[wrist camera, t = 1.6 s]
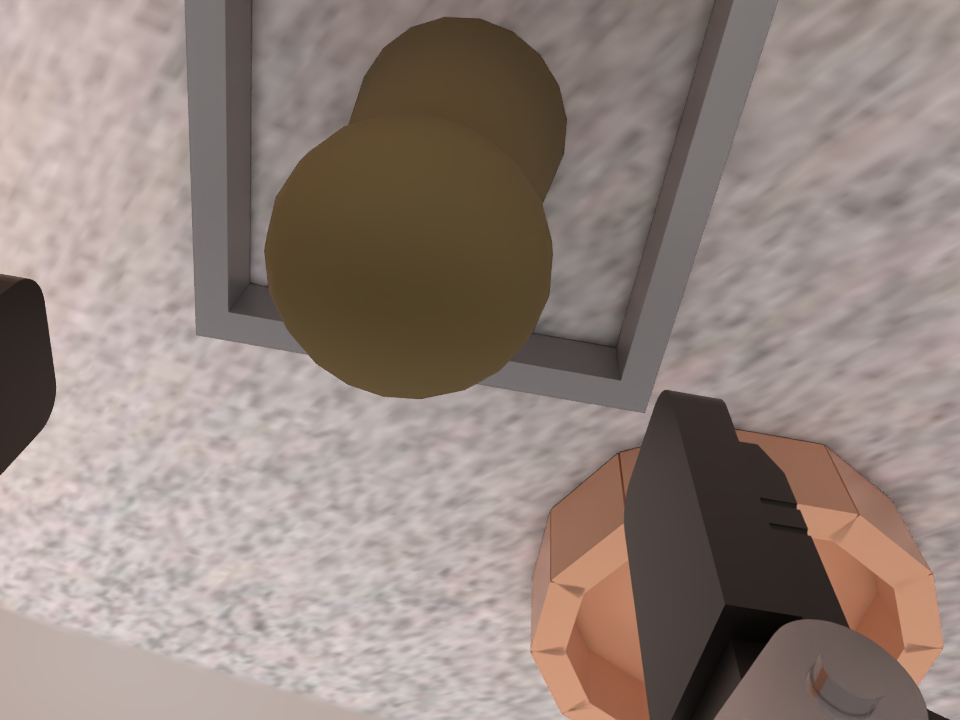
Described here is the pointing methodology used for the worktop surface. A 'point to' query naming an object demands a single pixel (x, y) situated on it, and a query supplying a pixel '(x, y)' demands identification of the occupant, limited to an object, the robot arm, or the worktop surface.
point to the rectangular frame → (543, 359)
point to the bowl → (609, 597)
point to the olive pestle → (424, 215)
